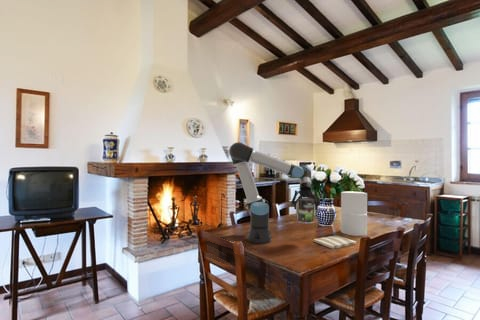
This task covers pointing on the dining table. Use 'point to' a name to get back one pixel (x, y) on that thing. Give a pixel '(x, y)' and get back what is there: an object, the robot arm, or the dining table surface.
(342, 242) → the birch board
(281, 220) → the dining table surface
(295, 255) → the dining table surface
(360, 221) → the cylinder
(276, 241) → the dining table surface
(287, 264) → the dining table surface
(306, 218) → the coffee can
